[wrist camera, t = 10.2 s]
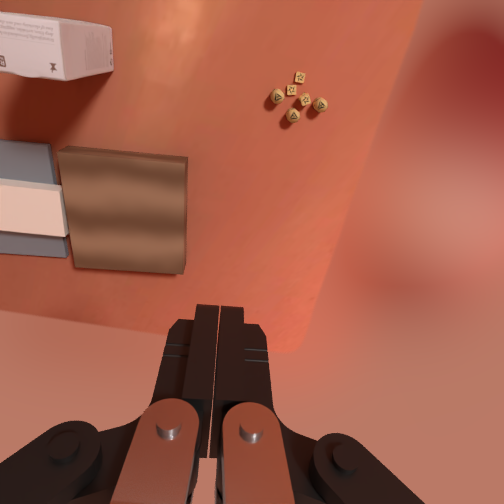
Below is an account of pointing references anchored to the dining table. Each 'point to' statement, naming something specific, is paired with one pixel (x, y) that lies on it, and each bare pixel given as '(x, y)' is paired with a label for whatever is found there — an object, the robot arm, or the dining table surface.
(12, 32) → the skincare box
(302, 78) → the dice set
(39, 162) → the slate mat
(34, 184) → the cream tile
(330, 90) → the dining table surface
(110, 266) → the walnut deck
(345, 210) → the dining table surface
